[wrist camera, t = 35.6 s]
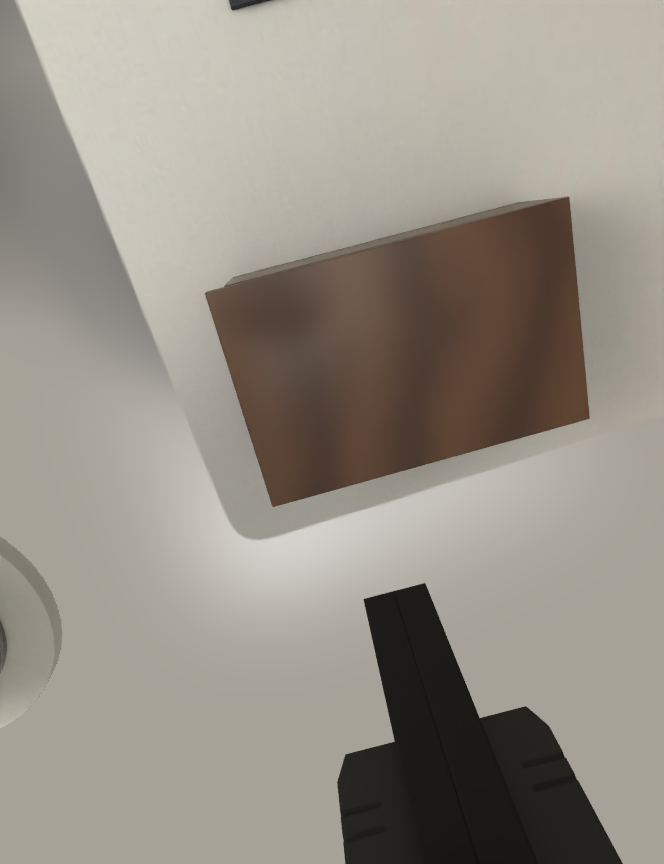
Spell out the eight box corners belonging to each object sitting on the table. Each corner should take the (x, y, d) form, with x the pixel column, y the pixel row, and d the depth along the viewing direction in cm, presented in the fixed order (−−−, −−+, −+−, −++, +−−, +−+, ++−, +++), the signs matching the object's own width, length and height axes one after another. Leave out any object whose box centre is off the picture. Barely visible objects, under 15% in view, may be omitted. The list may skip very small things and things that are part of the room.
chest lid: (272, 502, 39) (272, 507, 39) (205, 291, 34) (204, 293, 34) (583, 415, 40) (590, 418, 39) (562, 197, 35) (569, 196, 34)
